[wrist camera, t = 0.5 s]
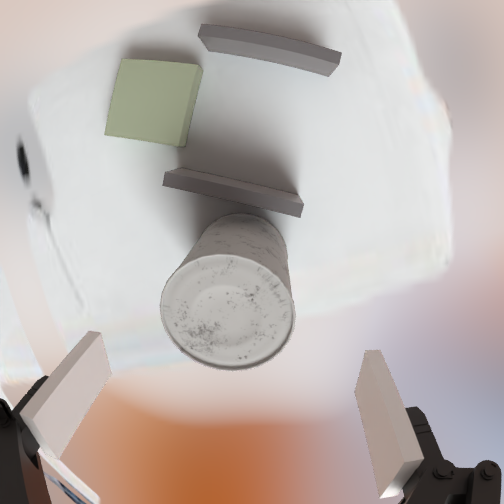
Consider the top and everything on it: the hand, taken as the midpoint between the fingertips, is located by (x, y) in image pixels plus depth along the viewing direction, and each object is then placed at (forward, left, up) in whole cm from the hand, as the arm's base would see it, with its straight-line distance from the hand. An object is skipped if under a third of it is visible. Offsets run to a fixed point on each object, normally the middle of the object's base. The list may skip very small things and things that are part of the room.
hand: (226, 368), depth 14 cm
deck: (-13, +12, -19) cm, 26 cm away
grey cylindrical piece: (-1, -2, -20) cm, 20 cm away
